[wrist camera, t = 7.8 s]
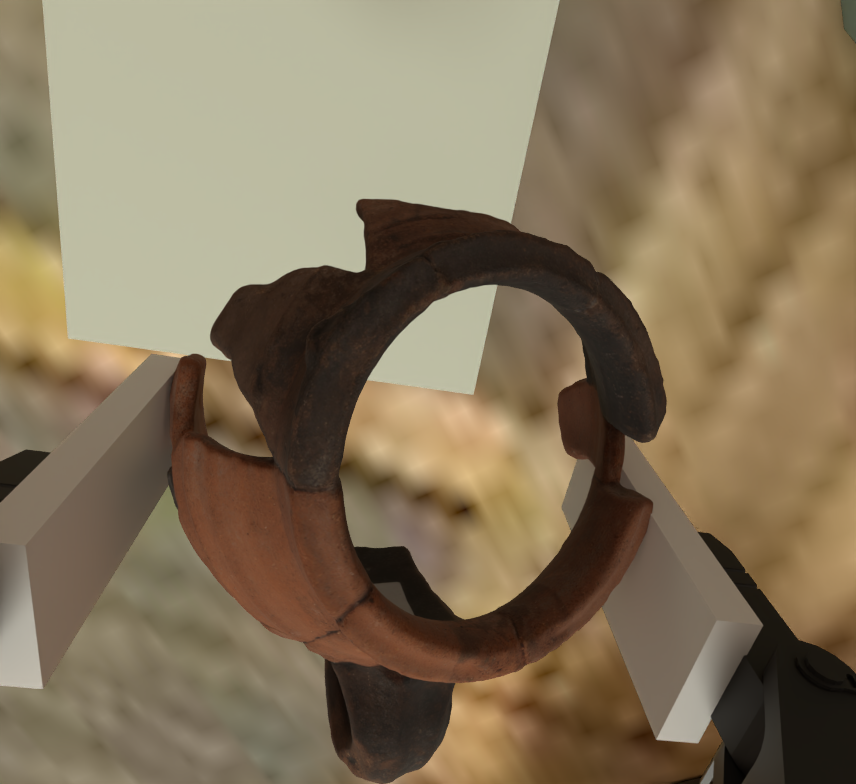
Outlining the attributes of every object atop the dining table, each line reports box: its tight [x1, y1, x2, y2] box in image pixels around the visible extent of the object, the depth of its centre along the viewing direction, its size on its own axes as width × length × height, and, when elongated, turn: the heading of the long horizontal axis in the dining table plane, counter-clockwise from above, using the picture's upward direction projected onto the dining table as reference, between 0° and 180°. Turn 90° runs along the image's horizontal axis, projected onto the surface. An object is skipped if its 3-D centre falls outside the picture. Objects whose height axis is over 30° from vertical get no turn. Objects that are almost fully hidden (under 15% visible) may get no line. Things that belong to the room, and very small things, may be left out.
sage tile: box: [42, 0, 560, 395], centre depth 27 cm, size 20×20×2 cm
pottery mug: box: [167, 199, 667, 784], centre depth 13 cm, size 12×10×8 cm
